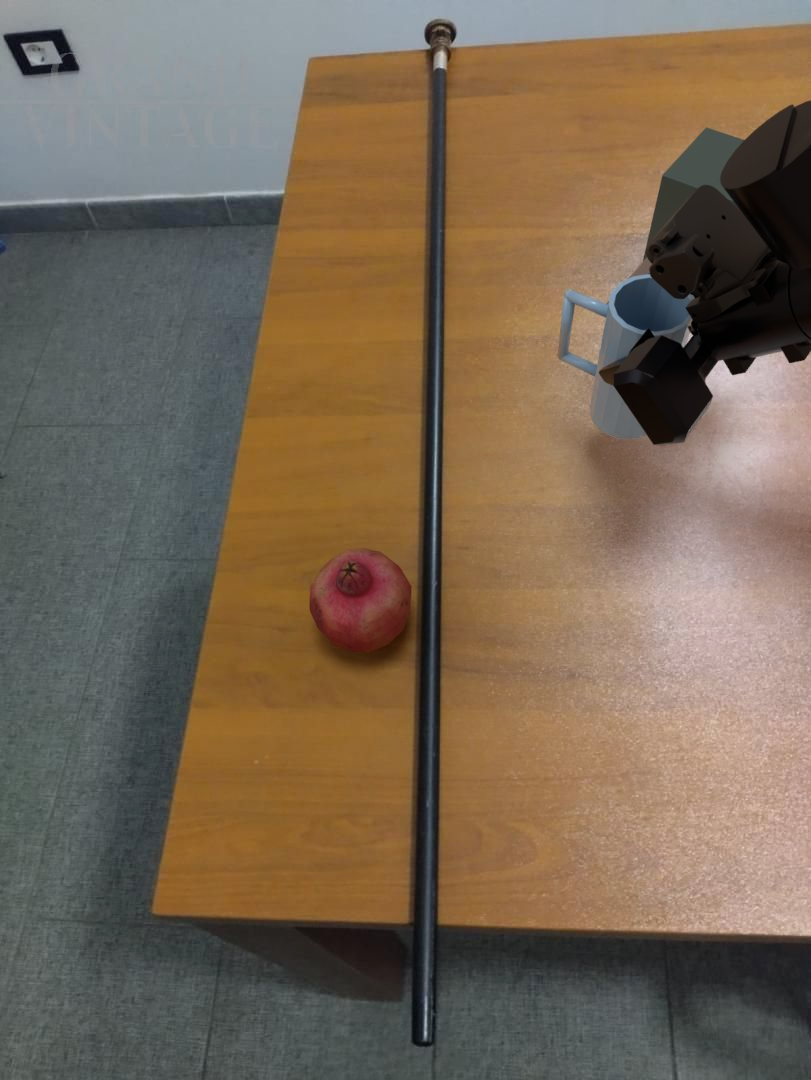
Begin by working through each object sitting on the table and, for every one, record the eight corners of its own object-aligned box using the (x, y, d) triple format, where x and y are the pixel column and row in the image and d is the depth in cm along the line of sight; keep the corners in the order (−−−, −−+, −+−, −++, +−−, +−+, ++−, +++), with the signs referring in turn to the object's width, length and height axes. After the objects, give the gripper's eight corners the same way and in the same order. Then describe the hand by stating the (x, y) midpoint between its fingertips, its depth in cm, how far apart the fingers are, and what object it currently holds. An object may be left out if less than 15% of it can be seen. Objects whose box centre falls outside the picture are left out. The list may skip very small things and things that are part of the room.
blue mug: (675, 403, 63) (711, 294, 53) (639, 450, 61) (670, 347, 51) (573, 355, 67) (589, 244, 57) (536, 398, 65) (545, 292, 55)
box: (555, 389, 73) (569, 276, 61) (672, 251, 81) (706, 126, 68) (627, 426, 70) (657, 315, 58) (742, 280, 78) (790, 154, 65)
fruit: (435, 632, 62) (427, 579, 53) (352, 685, 60) (330, 640, 52) (383, 561, 66) (368, 501, 57) (304, 610, 64) (276, 556, 55)
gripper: (826, 90, 45) (631, 193, 59) (674, 277, 39) (495, 343, 52) (898, 245, 49) (700, 308, 63) (770, 437, 43) (581, 460, 56)
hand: (623, 349), depth 58 cm, fingers closed on blue mug, 6 cm apart
